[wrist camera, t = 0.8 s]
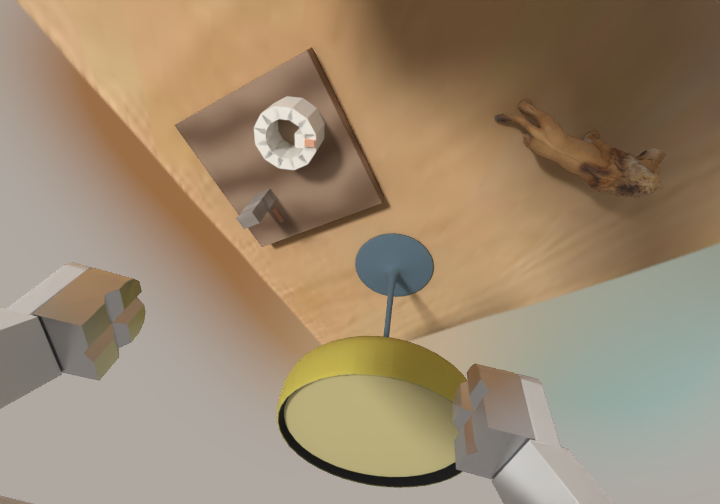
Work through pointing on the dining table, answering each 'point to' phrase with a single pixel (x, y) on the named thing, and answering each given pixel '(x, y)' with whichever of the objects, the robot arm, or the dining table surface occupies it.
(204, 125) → the board
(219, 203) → the dining table surface
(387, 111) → the dining table surface
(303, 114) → the white hollow tube
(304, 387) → the cocktail glass
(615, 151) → the lion figurine
